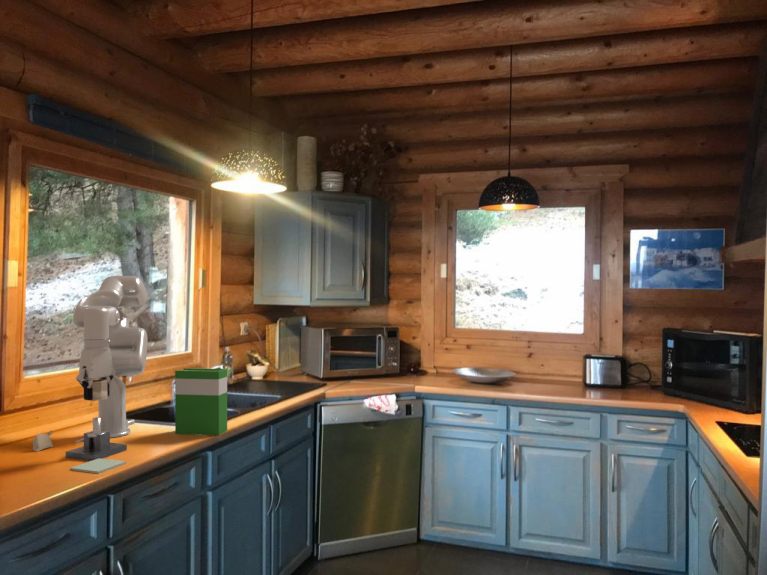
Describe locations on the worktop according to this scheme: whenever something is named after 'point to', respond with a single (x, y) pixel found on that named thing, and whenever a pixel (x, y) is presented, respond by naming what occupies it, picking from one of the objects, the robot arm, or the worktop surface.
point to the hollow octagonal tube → (99, 389)
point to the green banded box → (201, 401)
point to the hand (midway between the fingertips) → (96, 397)
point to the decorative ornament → (42, 441)
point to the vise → (96, 444)
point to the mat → (98, 465)
